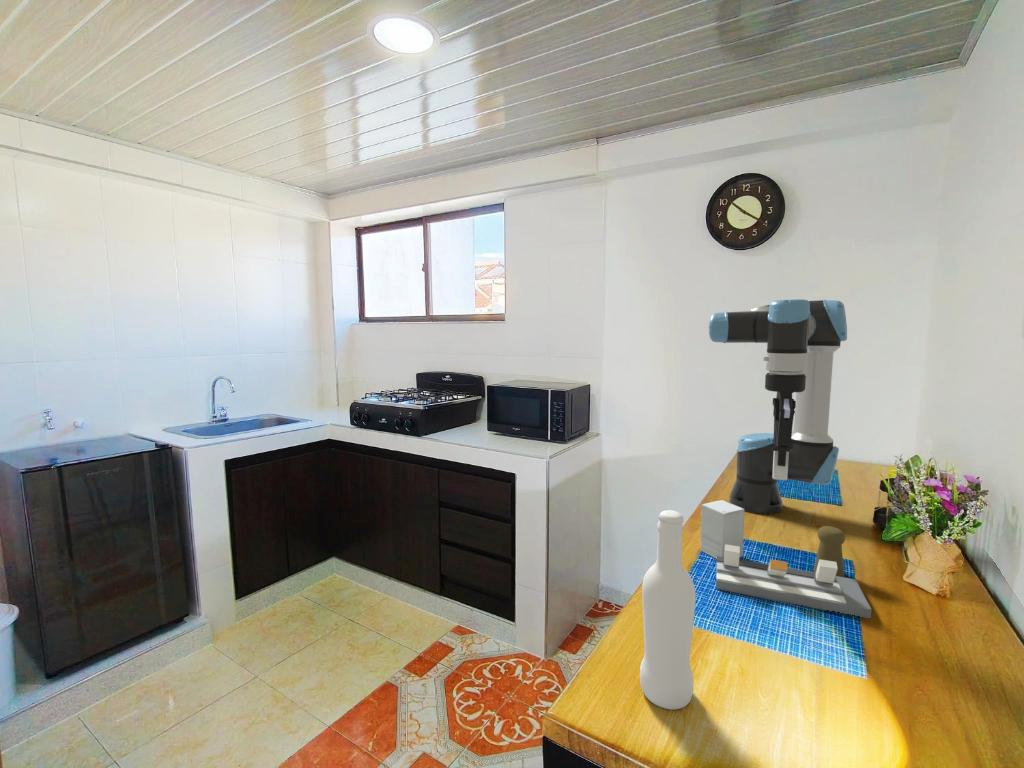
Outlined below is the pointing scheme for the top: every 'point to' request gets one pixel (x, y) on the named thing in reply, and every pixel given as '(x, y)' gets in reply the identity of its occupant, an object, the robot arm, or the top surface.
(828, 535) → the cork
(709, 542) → the supplement box
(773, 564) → the paddle
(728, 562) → the white block
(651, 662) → the bottle
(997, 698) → the top surface
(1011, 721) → the top surface
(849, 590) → the breaker panel
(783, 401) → the robot arm
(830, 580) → the white block
